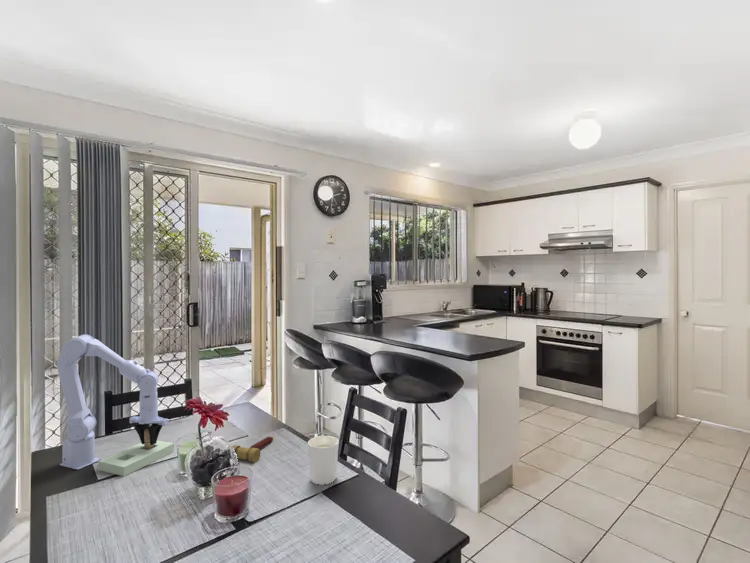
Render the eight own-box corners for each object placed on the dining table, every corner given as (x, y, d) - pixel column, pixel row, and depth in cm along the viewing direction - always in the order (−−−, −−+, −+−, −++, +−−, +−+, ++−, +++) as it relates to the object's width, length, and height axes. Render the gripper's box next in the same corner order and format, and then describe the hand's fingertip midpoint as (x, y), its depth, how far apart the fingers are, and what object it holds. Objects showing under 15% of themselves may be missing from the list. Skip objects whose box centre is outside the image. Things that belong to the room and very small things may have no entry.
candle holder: (317, 489, 125) (317, 450, 125) (302, 476, 133) (302, 440, 133) (344, 480, 131) (344, 442, 131) (329, 468, 139) (329, 433, 139)
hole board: (98, 470, 137) (98, 461, 137) (149, 446, 156) (149, 438, 156) (124, 476, 133) (124, 467, 133) (173, 451, 152) (173, 443, 152)
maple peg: (141, 450, 148) (141, 431, 148) (148, 446, 151) (148, 427, 151) (149, 451, 147) (149, 431, 147) (156, 447, 150) (156, 428, 150)
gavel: (262, 430, 166) (284, 433, 163) (262, 441, 165) (284, 444, 162) (229, 447, 146) (253, 451, 143) (228, 460, 145) (253, 464, 142)
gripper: (122, 408, 146) (122, 446, 146) (158, 411, 143) (158, 449, 144) (137, 402, 153) (138, 438, 153) (172, 404, 150) (172, 441, 150)
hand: (149, 443), depth 149 cm, fingers closed on maple peg, 3 cm apart
